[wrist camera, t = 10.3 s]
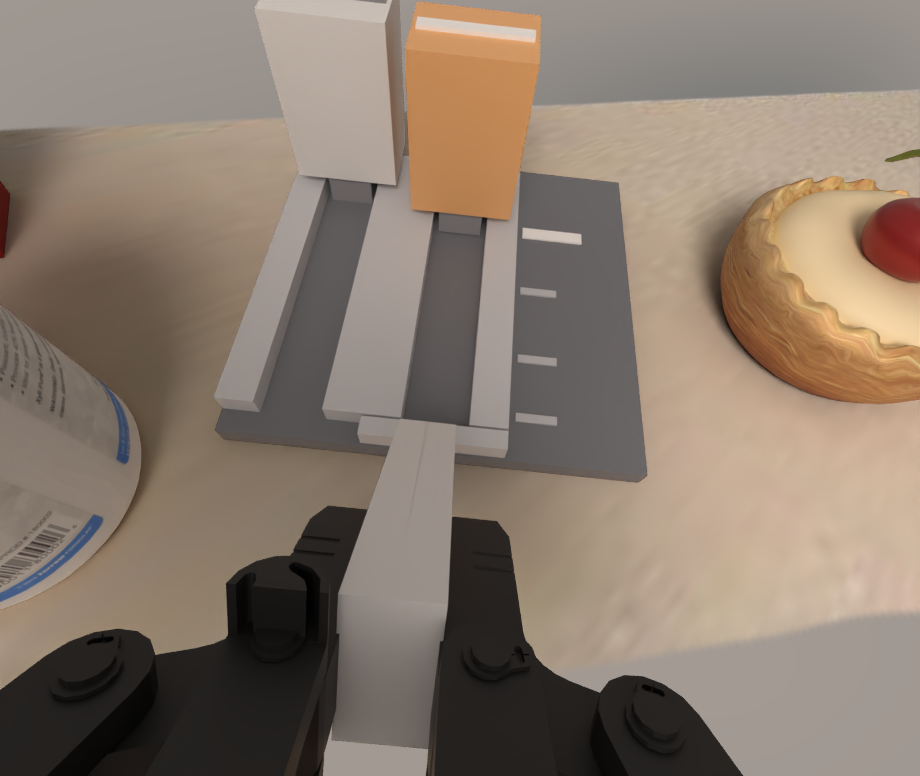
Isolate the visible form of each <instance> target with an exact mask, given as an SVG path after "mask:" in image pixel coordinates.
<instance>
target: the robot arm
mask: <svg viewBox="0 0 920 776" xmlns="http://www.w3.org/2000/svg"><path fill="white" fill-rule="evenodd" d="M455 437H456V425H455V424H445V423H436V422H427V421H418V420H408V419H400V420H399V423H398V426H397V429H396V431H395V434H394V437H393V440H392V443H391V446H390V448H389V451H388V454H387V457H386V460H385V462H384V465H383V468H382V471H381V474H380V477H379V479H378V482H377V485H376V488H375V491H374V494H373V496H372V499H371V502H370V505H369V508H368V510H365V509H356V508H346V507H336V506H327V507H326V508H324V509H323V510H322V511H320V512H319V513H318V514H316V515H315V516H313V517H312V518H311V519H310V521H309V522H308V524H307V526H306V528H305V530H304V532H303V533H302V535H301V539H299V541H298V543H297V544H296V546H295V548H294V552H293V553H292V554H291V555H290V556H275V557H271V558H267V559H263V560H259V561H256V562H254V563H252V564H250V565H248V566H247V567H245V568H243V569H241V570H239V571H238V572H237V573H236V574H235V575H234V576H233V577H232V578H231V579H230V580H229V581H228V582H227V583H226V592H227V616H228V636H227V637H226V639H224V640H222V641H219V642H217V643H215V644H211V645H207V646H203V647H199V648H194V649H188V650H182V651H176V652H170V653H164V654H158V655H155V652H154V649H153V646H152V643H151V641H150V639H148V638H147V637H145V636H144V635H142V634H141V633H139V632H138V631H131V630H123V629H113V630H107V631H100V632H94V633H91V634H89V635H86V636H83V637H81V638H78V639H75V640H72V641H70V642H68V643H66V644H65V645H63V646H61V647H60V648H58V649H56V650H55V651H53V652H51V653H50V654H48V655H46V656H45V657H43V658H42V659H41V660H39V661H38V662H37V663H35V664H34V665H33V666H31V667H30V668H29V669H28V670H26V671H25V672H24V673H22V674H21V675H20V676H18V677H17V678H16V679H14V680H13V681H12V682H10V683H9V684H8V685H6V686H5V687H4V688H2V689H1V690H0V776H323V765H324V752H325V748H326V744H327V741H328V737H329V733H330V730H331V726H332V740H335V741H346V742H357V743H368V744H379V745H390V746H401V747H413V748H423V749H428V761H427V762H428V763H427V771H426V776H743V775H742V774H741V772H740V771H739V769H738V768H737V767H736V765H735V764H734V763H733V761H732V760H731V758H730V757H729V756H728V754H727V753H726V752H725V750H724V749H723V747H722V746H721V745H720V743H719V742H718V740H717V739H716V738H715V736H714V735H713V734H712V732H711V731H710V729H709V728H708V727H707V725H706V724H705V722H704V721H703V720H702V718H701V717H700V716H699V714H698V713H697V712H696V711H695V710H694V709H693V708H692V707H691V706H690V705H689V704H688V702H687V701H686V700H685V699H684V698H683V697H682V696H680V695H679V694H677V693H676V692H674V691H673V690H671V689H670V688H668V687H667V686H665V685H663V684H662V683H659V682H656V681H654V680H651V679H648V678H646V677H643V676H627V675H624V676H621V677H618V678H616V679H613V680H611V681H609V682H608V683H607V684H606V686H605V687H604V688H603V690H602V691H601V692H600V693H599V692H596V691H594V690H591V689H589V688H585V687H583V686H581V685H578V684H576V683H573V682H571V681H568V680H566V679H564V678H562V677H560V676H558V675H556V674H555V673H553V672H552V671H551V670H549V669H548V668H546V667H545V666H544V665H543V664H542V663H541V662H540V661H539V660H538V659H537V658H536V656H535V654H534V651H533V649H532V647H531V646H530V645H529V644H528V643H527V642H526V640H525V637H524V633H523V628H522V621H521V614H520V608H519V601H518V594H517V587H516V581H515V574H514V567H513V560H512V558H511V556H512V554H511V547H510V540H509V536H508V535H507V534H506V532H505V531H504V530H503V529H502V527H501V526H500V525H499V523H498V522H497V521H489V520H479V519H470V518H460V517H452V503H453V481H454V459H455Z"/></svg>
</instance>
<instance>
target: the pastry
mask: <svg viewBox="0 0 920 776" xmlns="http://www.w3.org/2000/svg"><path fill="white" fill-rule="evenodd" d="M913 157H920V149H918V150H911V151H907V152H905V153H902V154H900V155H897V156H894V157H891V158H888V159H886V160H885V161H886V162H894V161H899V160H904V159H908V158H913ZM720 282H721V293H722V302H723V310H724V313H725V316H726V319H727V321H728V323H729V325H730V327H731V330H732V332H733V333H734V335H735V336H736V337H737V339H738V340H739V342H740V343H741V344H742V346H743V347H744V348H745V349H746V350H747V351H748V353H749V354H750V355H751V356H752V357H753V358H754V359H756V360H757V361H758V362H759V363H760V364H761V365H763V366H764V367H765V368H766V369H768V370H769V371H770V372H772V373H773V374H774V375H776V376H777V377H778V378H780V379H782V380H784V381H786V382H787V383H789V384H791V385H793V386H795V387H797V388H799V389H801V390H803V391H805V392H808V393H810V394H814V395H817V396H820V397H823V398H827V399H832V400H837V401H844V402H854V403H869V404H887V403H898V402H905V401H912V400H919V399H920V198H916V197H911V196H909V194H908V193H907V192H905V191H903V190H895V191H883V190H879V189H878V188H877V187H876V183H875V181H874V180H869V179H862V180H858V181H854V182H848V183H846V182H844V179H843V178H842V177H838V176H832V177H829V178H826V179H823V180H821V181H818V182H813V178H808V179H803V180H800V181H797V182H795V183H792V184H787V185H784V186H781V187H778V188H776V189H773V190H771V191H769V192H767V193H765V194H764V195H762V196H761V197H760V198H758V199H757V200H756V201H755V202H754V203H753V204H752V206H751V207H750V208H749V210H748V211H747V213H746V214H745V216H744V218H743V220H742V221H741V223H740V224H739V226H738V227H737V229H736V231H735V232H734V234H733V236H732V238H731V240H730V242H729V245H728V247H727V249H726V252H725V255H724V260H723V265H722V270H721V281H720Z"/></svg>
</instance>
